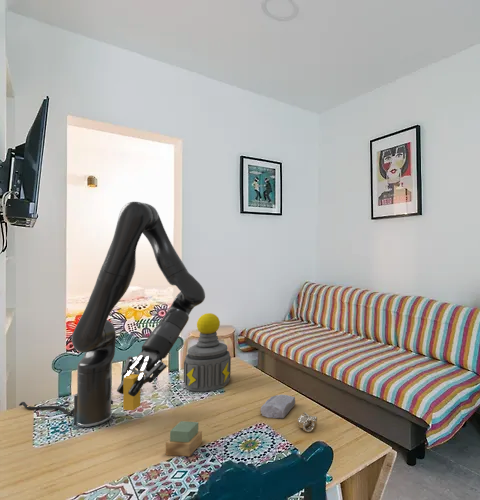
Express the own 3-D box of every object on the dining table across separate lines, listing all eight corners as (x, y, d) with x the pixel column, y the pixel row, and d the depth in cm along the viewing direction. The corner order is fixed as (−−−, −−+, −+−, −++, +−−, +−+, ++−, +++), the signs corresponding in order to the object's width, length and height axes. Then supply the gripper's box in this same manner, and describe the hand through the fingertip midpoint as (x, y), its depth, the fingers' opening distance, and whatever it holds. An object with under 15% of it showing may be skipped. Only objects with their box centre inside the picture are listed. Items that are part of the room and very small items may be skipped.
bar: (123, 409, 98) (123, 378, 98) (130, 405, 101) (130, 374, 101) (133, 410, 98) (133, 378, 98) (140, 405, 101) (140, 374, 101)
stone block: (258, 421, 121) (285, 419, 119) (256, 407, 121) (283, 404, 119) (273, 407, 132) (297, 404, 130) (271, 394, 133) (295, 392, 131)
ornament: (322, 429, 113) (322, 418, 113) (302, 435, 110) (302, 423, 110) (312, 418, 120) (312, 408, 120) (293, 423, 117) (293, 412, 117)
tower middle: (169, 441, 99) (169, 430, 99) (180, 431, 104) (180, 421, 104) (188, 442, 98) (188, 431, 98) (198, 432, 104) (198, 422, 104)
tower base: (165, 455, 98) (165, 442, 98) (179, 441, 105) (179, 429, 105) (189, 456, 98) (189, 444, 98) (202, 442, 105) (202, 430, 105)
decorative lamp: (239, 378, 154) (241, 311, 154) (210, 395, 137) (211, 319, 136) (204, 373, 160) (205, 308, 160) (172, 388, 142) (173, 315, 142)
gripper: (137, 330, 108) (97, 384, 97) (173, 335, 104) (135, 392, 92) (152, 343, 113) (116, 395, 102) (186, 348, 109) (152, 403, 97)
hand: (125, 393), depth 97 cm, fingers closed on bar, 3 cm apart
